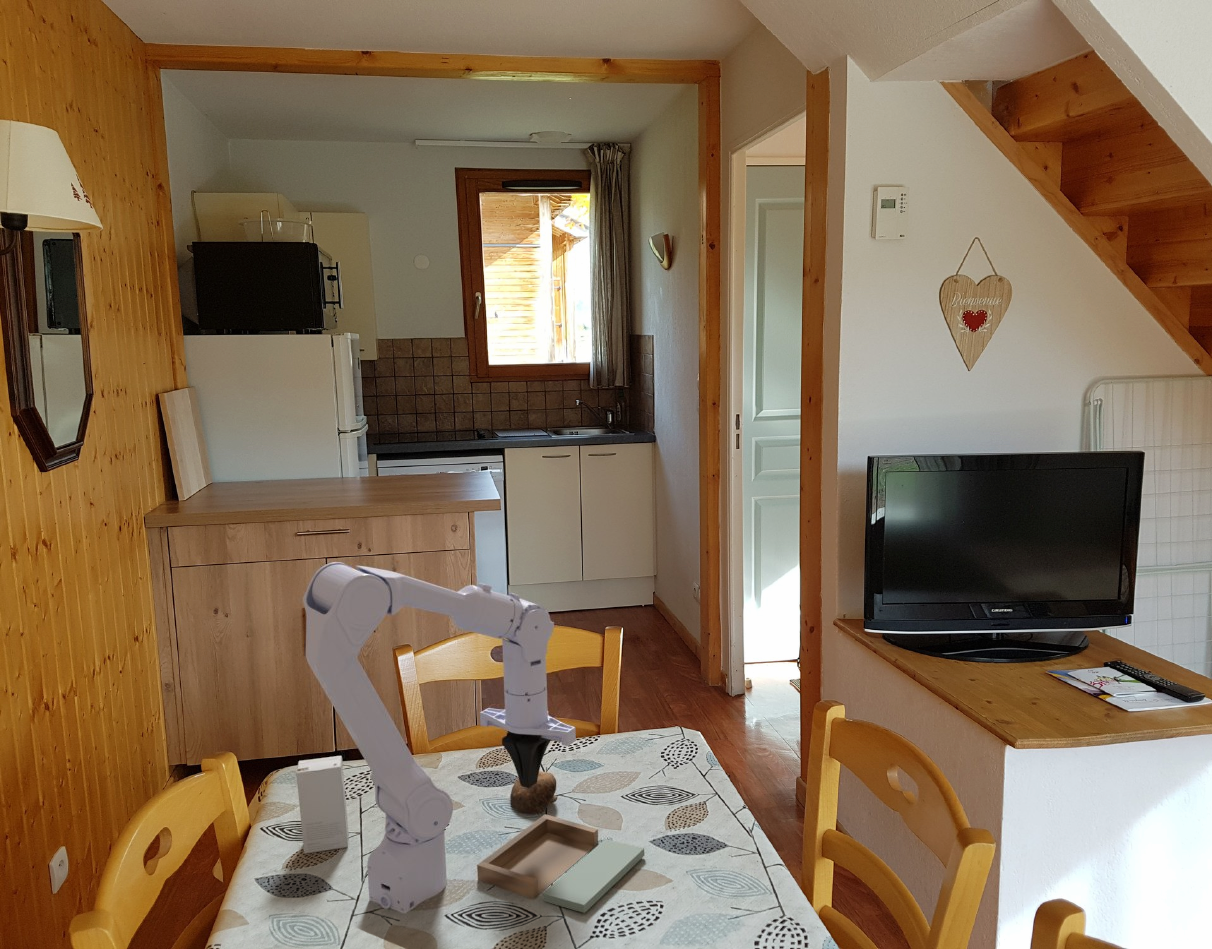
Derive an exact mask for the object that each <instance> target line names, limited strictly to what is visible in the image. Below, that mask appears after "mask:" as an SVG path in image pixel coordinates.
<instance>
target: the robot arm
mask: <svg viewBox="0 0 1212 949" xmlns="http://www.w3.org/2000/svg"><path fill="white" fill-rule="evenodd" d="M355 567H356V568H357V569H358V570H357V569H355V568H353V567H352V566H350V565H349V564H348V563H344V562H340V561H334V562H329V563H327V564H324V565H322V566H321V567H320V568H318V570H316V571H315V573H314V574H313V576H312V577H311V580H310V581H309V584H308V586H307V589H306V591H305V592H304V595H303V597H302V602H303V607H304V610H305V614H306V615H305V616H306V620H305V621H306V625H305V659H306V661H307V664H308V666H309V667H310V669H311V671H312V672H313V674H314V676H315V678H316V679H317V681H318V683H319V684H320V686H321V688H322V689H323V691H324V693H325V695H326V697H328V700H329V701H330V702H331V705H332V707H334V709H335V711H336V713H337V715H338V717H339V718H340V719H341V722H342V723H343V725H344V726H345V728H346V730H347V732H348V734H349V735H350V736H351V738H352V741H353V742H354V744H355V745H356V747H357V749H358V751H359V752H360V754H361V755H362V757H363V759H364V760H365V762H366V764H367V766H368V767H369V769H370V771H371V773H370V776H369V778H370V779H371V782H372V783H373V785H374V794H375V802H376V806H377V807H378V809H379V810H380V811H381V812H383V813H385V825H384V829H385V830H384V831H385V833H384V836H383V839H382V840H381V841H380V843H379V844H378V846H377V847H376V848H375V849H374V850H373V851H372V852H371V853H370V854H369V856H368V858H367V879H368V882H367V883H368V895H369V899H368V900H369V901H370V902H373V903H375V904H378V905H380V906H381V907H382V908H383V909H386V910H388V909H391V910H393V911H396V912H398V913H401V914H404V915H405V914H407V913H409V912H410V911H411V910H413V909H414V908H416V907H417V906H418V905H419V904H421V903H422V902H424V901H426V900H428V899H430V898H433V897H434V896H437V895H438V894H439V893H441V892H442V891H443V890H444V889H445V888H446V886H447V883H448V882H447V878H448V877H447V876H448V875H447V862H446V861H447V858H446V838H445V836H446V835H445V830H446V828H447V827H448V825H449V823H450V821H451V819H452V815H453V812H454V809H453V808H454V804H453V800H452V797H451V796H450V795H449V794H448V792H446V791H445V790H444V789H441V788H440V787H438V786H437V785H435V783H434V782H433V780H432V779H431V777H430V775H429V774H428V773H427V772H426V771H425V770H424V768H423V767H422V766H421V765H420V764H419V763H418V761H417V760H416V759H415V758H414V756H413V755H412V753H411V751H410V749H409V747H408V746H407V744H406V742H405V740H404V739H403V737H402V735H401V733H400V731H399V730H398V728H397V726H396V724H395V722H394V720H393V719H392V717H391V716H390V713H389V712H388V710H387V709H386V706H385V705H384V703H383V701H382V699H381V697H380V696H379V695H378V692H377V691H376V688H375V687H374V686H373V683H372V682H371V680H370V679H369V676H368V675H367V673H366V671H365V670H364V668H363V666H362V664H361V662H360V661H359V658H358V656H359V653H360V651H361V649H362V648H363V646H364V645H365V644H366V642H367V641H368V639H369V638H370V637H371V636H372V634H373V633H374V631H376V629H377V628H378V626H379V625H380V624H381V622H382V621H383V619H384V618H385V617H386V616H387V614H388V615H390V616H395V615H396V614H397V613H398V612H399V611H400V610H402V609H403V608H404V607H409V608H414V609H418V610H422V611H427V612H432V613H436V614H441V615H445V616H450V617H451V620H452V622H453V624H454V625H455V627H456V628H458V629H459V630H462V631H467V632H471V633H475V634H478V635H483V636H486V637H491V638H495V639H498V640H501V643H502V665H503V667H502V668H503V692H504V693H503V694H504V697H503V698H504V709H498V708H491V707H488V708H485V709H484V710H482V711H480V712H479V716H480V717H479V718H480V719H479V720H480V726H481V727H484V728H485V727H487V728H488V727H490V726H491V727H494V728H500V729H504V730H505V731H507V733H506V735H505V736H503V737H502V738H501V744H502V746H503V748H505V750H506V751H507V753H508V755H509V756H510V758H511V761H512V762H513V765H514V768H515V770H516V774H517V777H518V779H519V781H520V784H521V786H522V787H526V788H530V787H531V786H533V785H534V784H536V783H537V779H538V774H539V772H540V768H541V765H542V761H543V758H544V756H545V753H546V751H547V749H548V747H549V744H550V743H551V741H555V742H559V743H561V745H562V746H566V747H569V746H570V745H572V744H573V743H574V742H576V740H577V738H576V737H577V735H576V734H577V732H576V726H572V725H570V724H566V723H564V722H562V721H560V720H558V719H556V718H554V717H552V716H550V714H549V712H550V711H549V710H548V687H547V686H548V682H547V656H546V654H548V644H549V641H550V639H551V637H552V635H553V632H554V630H555V629H554V627H555V622H554V621H552V620H551V615H550V613H549V612H548V611H547V610H546V609H547V608H545V607H544V606H542V605H540V604H537V603H534V602H531V601H528V600H526V599H523V598H521V596H520V595H519V594H516V593H515V592H514V593H513V592H509V594H508V595H507V594H504V593H501V592H498V591H494V590H492V588H493V587H492V585H489V584H486V583H483V582H478V584H477V586H476V585H473V584H469V585H465V586H464V587H462V588H461V589H459V590H457V591H456V590H453V589H449V588H446V587H443V586H440V585H436V584H434V583H431V582H427V581H424V580H421V579H418V578H415V577H411V576H408V575H406V574H403V573H398V572H395V571H392V570H387V569H381V568H375V567H371V566H366V565H365V566H364V565H363V566H362V565H355Z"/></svg>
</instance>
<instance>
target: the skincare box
mask: <svg viewBox="0 0 1212 949" xmlns="http://www.w3.org/2000/svg"><path fill="white" fill-rule="evenodd" d="M295 776H296V783H297V793H298V802H299V804H298V805H299V812H300V813H299V814H300V823H301V824H300V825H301V835H302V843H303V844H302V846H303V853H304V854H311V853H319V852H323V851H324V852H325V851H330V850H336V849H343V848H348V847H349V835H350V834H349V833H350V831H349V822H348V813H347V811H348V810H347V800H346V799H347V798H346V789H345V786H346V785H345V778H344V776H345V775H344V766H343V757H342V755H336V756H329V757H321V758H313V759H304V760H299V761H298V762H297V769H296V775H295Z"/></svg>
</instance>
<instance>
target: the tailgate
mask: <svg viewBox="0 0 1212 949" xmlns="http://www.w3.org/2000/svg"><path fill="white" fill-rule="evenodd" d="M644 857H645V847H639V846H636V845H631V844H628V843H623V842H619V841H614V840H610V839H607V838H605V839H603V840H602V842H600V843H598V844H597V845H596V846H595V847H594V848H592V849H591V850H590V851H589V852H588V853H587V854H586V855H584V856H583V857H582V858H581V859H580V860H579V861H577V862H576V863H575V864H574V865H573V866H572V867H571V868H569V869H568V870H567V871H566V872H565V873H564V874H562V875H561V876H560V877H559V878H558V879H557V880H555V881H554V882H553V883H552V884H551V885H550V886H549V887H547V888H546V889H545V890H544V891H543V892H542V901H543V902H544V903H549V904H551V905H556V906H559V907H562V908H567V909H570V910H573V911H577V912H580V913H583V914H586V913H587V912H588V910H590V909H591V907H593V906H594V905H595V904H596V903H597V902H598V901H599V900H600V899H601V898H602V897H603V896H604V895H605V894H606V893H608V891H610V889H611V888H612V887H613V886H614V885H616V884H617V883H618V882H619V881H620V880H621V879H622V878H623V877H624V876H625V875H626V874H628V872H629V871H630V870H631V869H632V868H634V866H635V865H636V864H637V863H638V862H639V861H641V860H642V859H643V858H644Z"/></svg>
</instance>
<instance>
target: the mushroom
mask: <svg viewBox="0 0 1212 949" xmlns="http://www.w3.org/2000/svg"><path fill="white" fill-rule="evenodd" d="M556 790H557V779H556V777H555V776H554V775H553V774H552V773H551V772H547V771H539V774H538V779H537V783H536V784H534V785H533V786H531V787H530V788H526V787H522V786H521V784H520V781H519V778H518V779H517V780H516V781H515V782H514V784H513V785H512V788H511V792H510V796H509V797H510V805H511V806H512V808H513V809H514V810H515V811H517V812H518V813H521V814H524V815H537V814H541V813H543V812H544V811H545V809H547V807H549V805H550V804H553V803H555V801H557V798H558V796H557V795H555V794H556Z"/></svg>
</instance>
